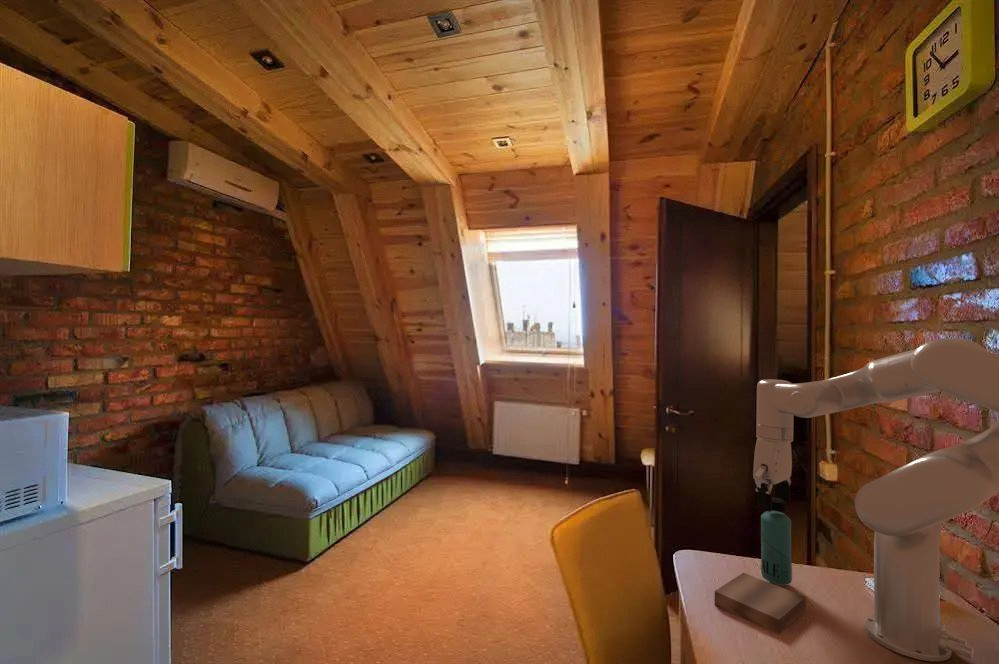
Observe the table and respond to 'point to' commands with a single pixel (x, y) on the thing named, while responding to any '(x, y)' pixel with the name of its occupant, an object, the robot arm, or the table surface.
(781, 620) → the walnut plinth
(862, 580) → the table surface
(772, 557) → the beverage bottle
